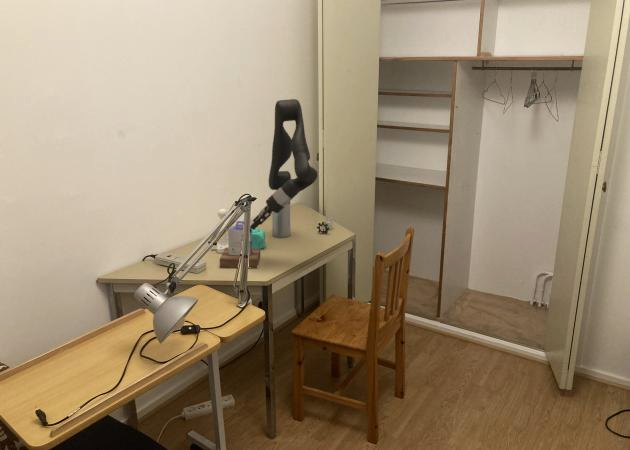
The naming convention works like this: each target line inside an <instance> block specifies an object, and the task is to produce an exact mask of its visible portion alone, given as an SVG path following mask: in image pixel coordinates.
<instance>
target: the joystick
mask: <svg viewBox="0 0 630 450" xmlns="http://www.w3.org/2000/svg"><path fill="white" fill-rule="evenodd" d="M226 213H227V214H228V210H227V209H225V208H220V209H219V210H217V216H218V217H219V221H220V220H221V219H222V218H223V217H224V216H225V215H226ZM225 248H228V231H226V233H225V234H224V235H223V237H222V238H221V239H220V238H219V242H218V244H217V246H214V247H213V248H212V249H211V250H212V251H213V250H216V252H217V253H218V254H222V253H223V251H224V249H225Z"/></svg>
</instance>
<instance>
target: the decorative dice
mask: <svg viewBox="0 0 630 450" xmlns="http://www.w3.org/2000/svg"><path fill="white" fill-rule="evenodd" d="M265 245H266V232H265V231H264V229H260V228H255V229H254V230H253V229H252V248H253V249H260V250H262V249H264V248H265Z"/></svg>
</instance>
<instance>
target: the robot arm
mask: <svg viewBox="0 0 630 450" xmlns="http://www.w3.org/2000/svg"><path fill="white" fill-rule="evenodd" d="M300 103H301V102H300V101H299V100H298V99H295V98H291V99H280V100H277V101H276V102H275V107H274V131H273V139H272V148H271V162H270V169H269V174H268V186H269V189H270V190H272V191H274V192H273V193H272V194H271V195H270V196H269V197H268V198H267V199H266V200H265V203H266V206H264V207H263V208H262V209H261V210H260V211H259V213H258V215H256V216H255V218H253V220H252V222H253V223H252V224H251V225H250V226H251V228H252V229H253V230H254V229H257V228H258V227H259V226H260V225H263V223H264V222H266V221H267V219H268V218H270V217H271V221H272V222H271V223H272V224H271V225H272V226H271V227H272V228H271V229H272V231H271V232H272V236H273V237H274V238H277V239H278V238H279V239H283V238H284V239H285V238H289V237H291V201H292V200H293V199H294V198H295V197H296V196H297V195H298V194H299V193H300V192H302V191H304V190H305V189H307V188H309V187H310V186H312V185H313V184H314V183H315V182H316V180H317V178H318V171H317V169H316V168H315V167H312V166H311V165H310V163H309V161H310V159H311V153H310V150H309V146H308V143H307V138H306V133H305V131H306V130H305V124H304V118H303V109H302V105H301V104H300ZM291 121H294V122H295V130H294V132H293V135H292V137H291V136H290V135H289V133H288V132H287V131H286V129H285V127H284V122H291ZM291 156H293V159H294V160H293V161H294V162H293V164H294V165H293V167H294V172H295V175H296V178H292V176H291V173H290V172H289V170H281V171H280V169H281V168H282V167H283V165H285V164H286V163H287V162H288V161H289V159H290V158H291Z"/></svg>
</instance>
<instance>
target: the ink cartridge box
mask: <svg viewBox="0 0 630 450" xmlns="http://www.w3.org/2000/svg"><path fill="white" fill-rule="evenodd" d="M243 224H244V225H245V221H239V220H237V221H236V224H235V225H231V226H232V227H231V228H230V229H229V228H228V229H229V230H228V229H227V242H228V248H229V255H240V254H241V251H242V241H243ZM249 226H250V241H249V256H250V255H251V254H252V253H253V248H252V228H251V225H249Z"/></svg>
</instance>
